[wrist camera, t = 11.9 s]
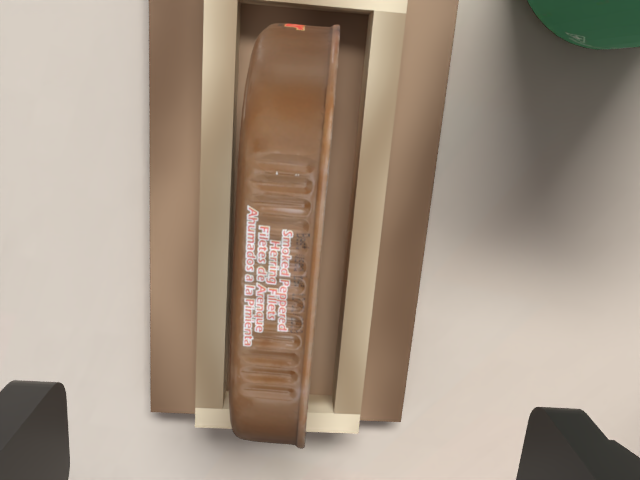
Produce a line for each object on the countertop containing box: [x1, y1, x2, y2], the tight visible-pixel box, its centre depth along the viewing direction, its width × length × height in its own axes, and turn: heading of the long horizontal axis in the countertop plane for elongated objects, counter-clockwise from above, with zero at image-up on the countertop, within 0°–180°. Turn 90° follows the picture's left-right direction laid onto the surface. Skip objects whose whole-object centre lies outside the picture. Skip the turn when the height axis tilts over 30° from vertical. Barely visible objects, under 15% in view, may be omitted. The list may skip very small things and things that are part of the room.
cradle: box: [149, 0, 459, 434], centre depth 24 cm, size 12×20×3 cm, turn 175°
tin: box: [229, 23, 340, 448], centre depth 20 cm, size 15×3×8 cm, turn 175°
